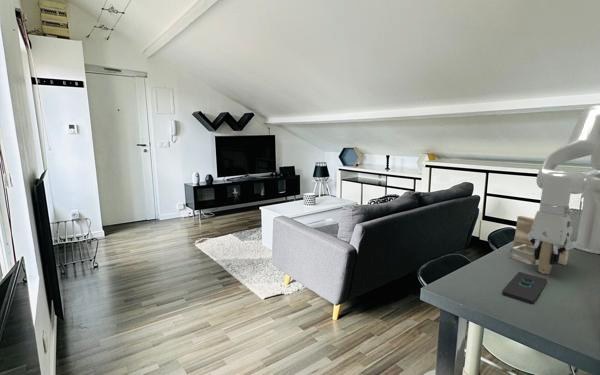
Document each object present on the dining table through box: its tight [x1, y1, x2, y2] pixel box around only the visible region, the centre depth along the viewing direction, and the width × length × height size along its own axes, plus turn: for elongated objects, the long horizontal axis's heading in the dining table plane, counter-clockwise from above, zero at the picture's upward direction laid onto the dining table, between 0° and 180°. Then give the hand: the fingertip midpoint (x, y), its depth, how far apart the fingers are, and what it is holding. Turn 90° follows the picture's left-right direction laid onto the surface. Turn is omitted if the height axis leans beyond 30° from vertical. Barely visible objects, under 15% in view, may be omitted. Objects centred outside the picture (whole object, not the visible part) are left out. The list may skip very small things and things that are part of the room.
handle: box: [537, 232, 554, 275], centre depth 113 cm, size 5×6×15 cm
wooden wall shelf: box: [509, 215, 574, 267], centre depth 126 cm, size 13×18×14 cm
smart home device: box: [501, 271, 548, 305], centre depth 103 cm, size 8×2×20 cm
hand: (545, 260), depth 114 cm, fingers closed on handle, 4 cm apart
